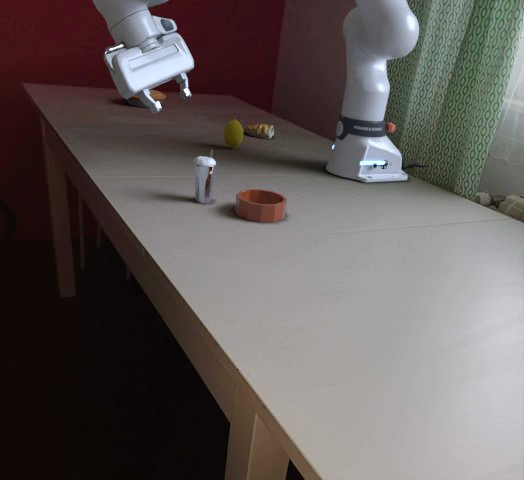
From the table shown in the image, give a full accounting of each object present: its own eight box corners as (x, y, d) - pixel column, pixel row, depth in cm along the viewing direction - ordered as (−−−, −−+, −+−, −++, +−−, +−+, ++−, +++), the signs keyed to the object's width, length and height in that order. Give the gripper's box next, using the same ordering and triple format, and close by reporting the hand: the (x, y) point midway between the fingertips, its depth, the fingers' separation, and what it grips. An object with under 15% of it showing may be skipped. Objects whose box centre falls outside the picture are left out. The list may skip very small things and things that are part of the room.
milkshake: (219, 199, 116) (222, 151, 110) (207, 206, 112) (209, 156, 106) (201, 195, 117) (202, 147, 112) (188, 201, 113) (189, 152, 107)
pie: (116, 105, 192) (115, 89, 190) (131, 99, 205) (131, 84, 203) (157, 111, 191) (157, 95, 188) (170, 104, 204) (171, 90, 201)
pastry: (242, 135, 172) (243, 122, 170) (246, 131, 178) (247, 119, 176) (270, 139, 171) (272, 127, 169) (274, 136, 177) (275, 123, 175)
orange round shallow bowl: (275, 205, 117) (277, 189, 115) (290, 222, 109) (292, 205, 107) (230, 205, 114) (231, 188, 112) (243, 222, 106) (244, 205, 104)
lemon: (239, 152, 153) (241, 122, 149) (220, 149, 154) (222, 119, 150) (243, 148, 158) (246, 119, 154) (225, 145, 158) (227, 116, 154)
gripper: (107, 41, 99) (148, 115, 104) (179, 18, 111) (211, 85, 116) (91, 57, 103) (130, 127, 108) (161, 33, 115) (193, 96, 121)
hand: (173, 105), depth 112 cm, fingers open, 8 cm apart
